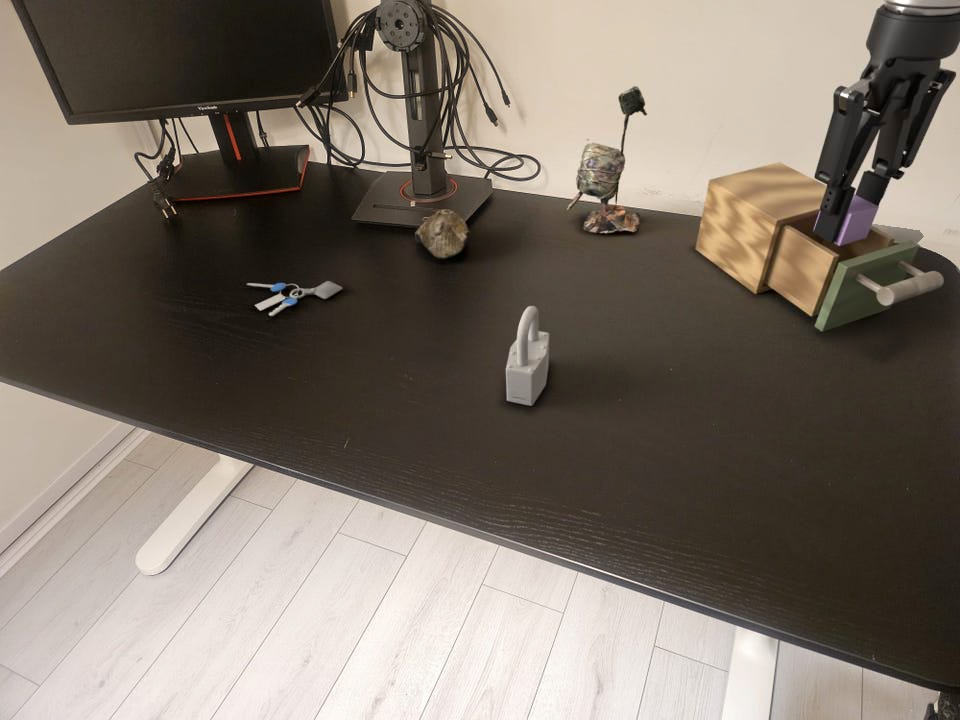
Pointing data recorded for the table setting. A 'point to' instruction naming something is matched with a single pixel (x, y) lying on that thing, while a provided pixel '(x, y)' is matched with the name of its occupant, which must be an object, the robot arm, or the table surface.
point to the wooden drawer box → (753, 218)
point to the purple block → (856, 221)
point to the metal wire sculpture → (608, 175)
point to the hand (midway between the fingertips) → (840, 232)
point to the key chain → (321, 291)
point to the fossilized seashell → (443, 234)
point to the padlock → (527, 360)
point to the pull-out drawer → (844, 273)
